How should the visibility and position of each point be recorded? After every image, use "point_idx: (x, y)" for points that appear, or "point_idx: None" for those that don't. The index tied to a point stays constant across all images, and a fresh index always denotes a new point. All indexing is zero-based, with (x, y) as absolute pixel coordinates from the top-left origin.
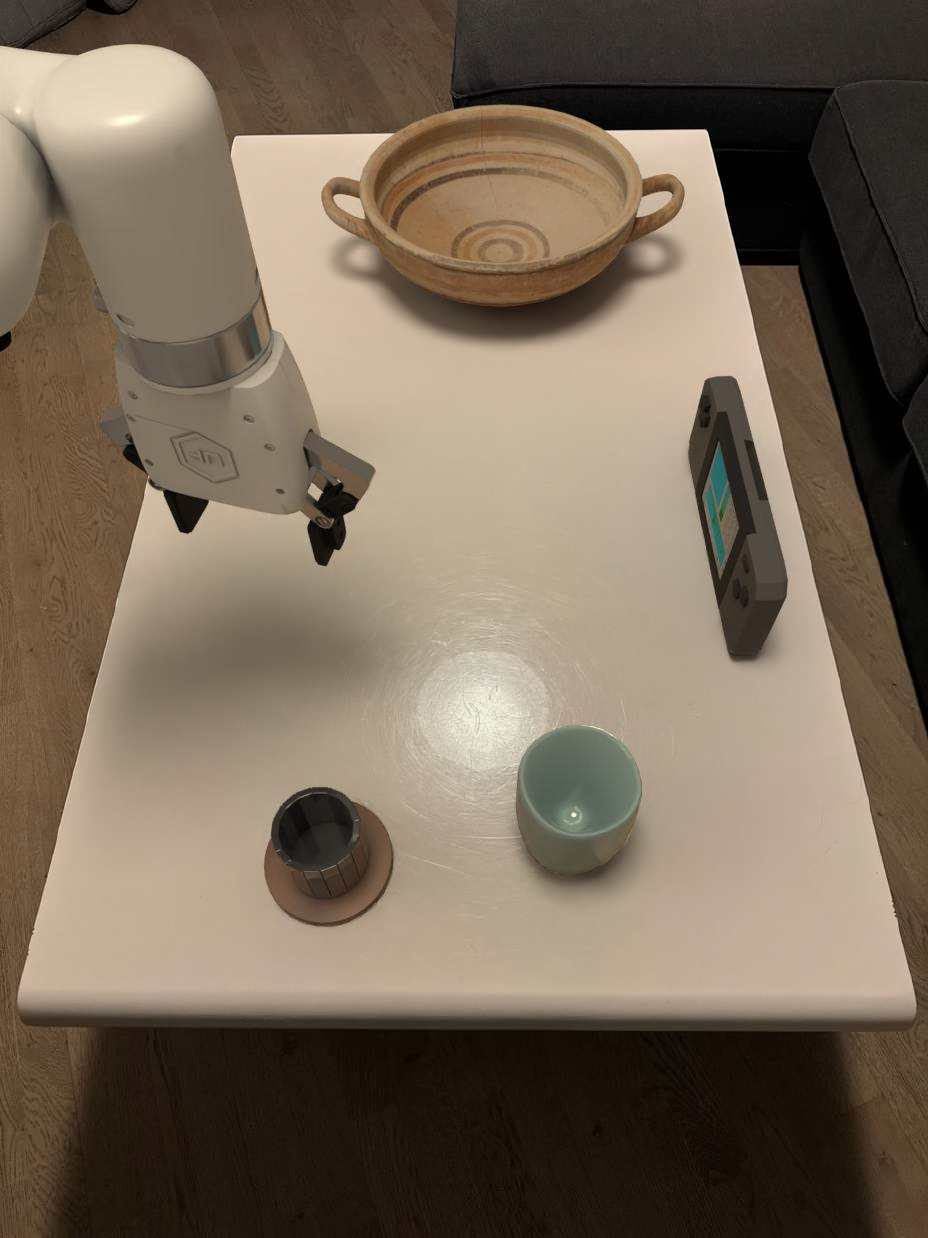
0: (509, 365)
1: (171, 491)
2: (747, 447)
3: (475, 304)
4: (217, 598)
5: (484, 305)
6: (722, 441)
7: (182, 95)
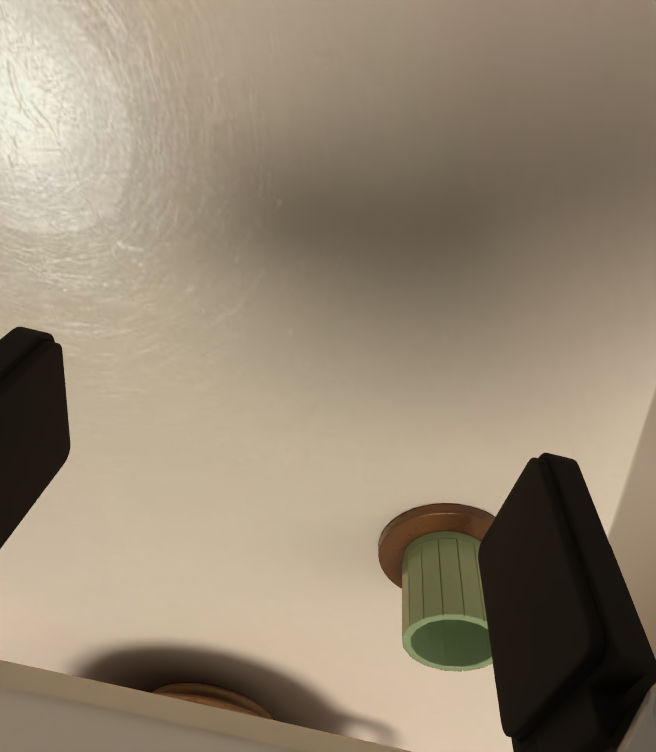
0: (165, 622)
1: (612, 675)
2: None
3: (197, 702)
4: (514, 323)
5: (188, 699)
6: None
7: None
